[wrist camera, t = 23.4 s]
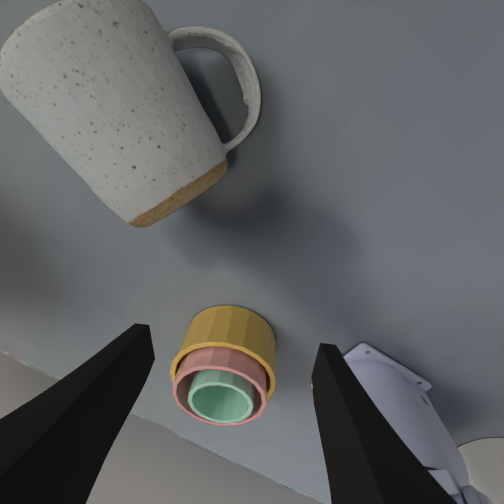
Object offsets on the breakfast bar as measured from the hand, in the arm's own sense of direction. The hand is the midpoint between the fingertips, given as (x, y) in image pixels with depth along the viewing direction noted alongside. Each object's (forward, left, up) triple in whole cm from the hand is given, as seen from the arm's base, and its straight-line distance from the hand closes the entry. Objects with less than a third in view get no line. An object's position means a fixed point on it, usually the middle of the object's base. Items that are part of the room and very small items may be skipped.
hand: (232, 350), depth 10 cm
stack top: (-4, +10, -10) cm, 15 cm away
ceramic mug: (+9, -5, -11) cm, 15 cm away
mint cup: (-4, +10, -10) cm, 14 cm away
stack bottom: (-4, +10, -10) cm, 15 cm away
